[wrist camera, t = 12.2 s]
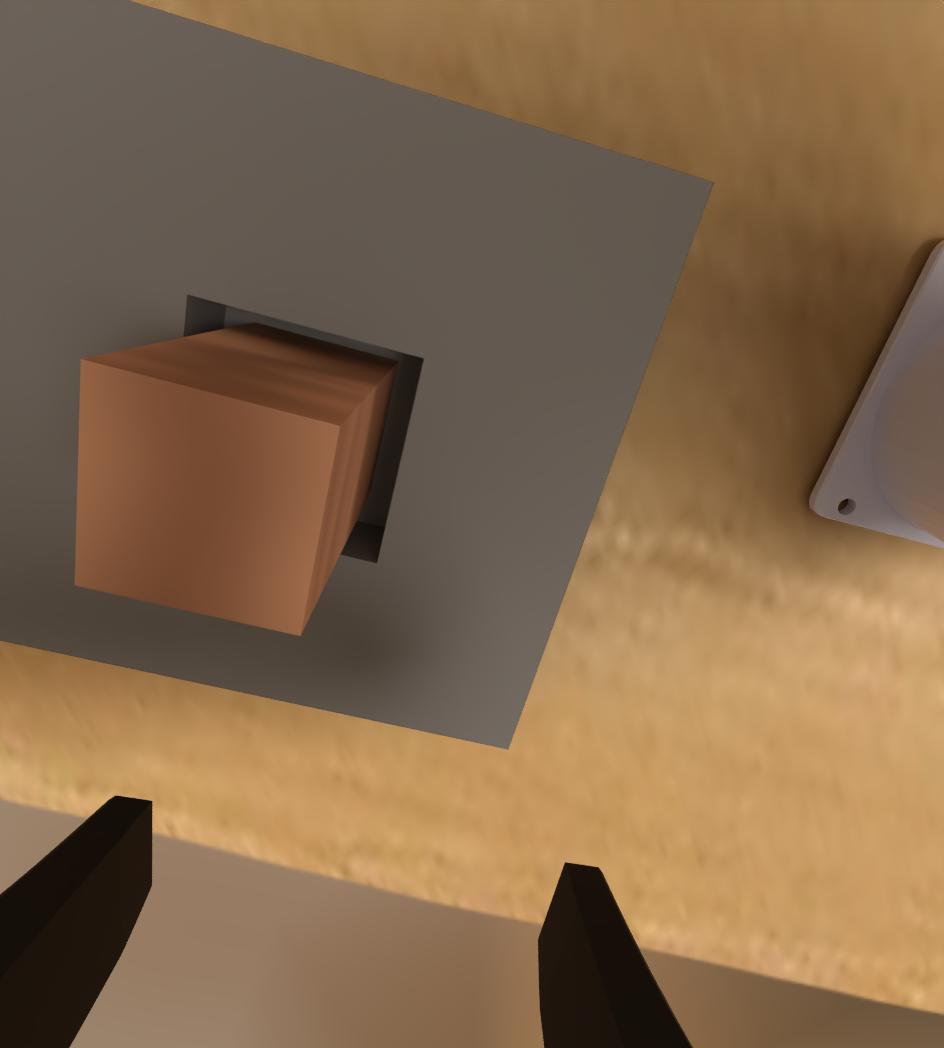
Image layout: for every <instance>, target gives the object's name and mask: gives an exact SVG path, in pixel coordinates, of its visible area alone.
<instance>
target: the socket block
mask: <svg viewBox="0 0 944 1048" xmlns="http://www.w3.org/2000/svg"><path fill="white" fill-rule="evenodd" d="M713 184H714V182H712V181H708V180H705V179H702V178H699V177H695V176H692V175H689V174H686V173H683V172H679V171H676V170H673V169H670V168H666V167H663V166H660V165H657V164H654V163H650V162H647V161H644V160H641V159H637V158H634V157H631V156H628V155H625V154H621V153H618V152H615V151H612V150H609V149H605V148H602V147H599V146H596V145H592V144H589V143H586V142H583V141H580V140H576V139H573V138H570V137H567V136H563V135H560V134H557V133H554V132H551V131H547V130H544V129H541V128H538V127H535V126H531V125H528V124H525V123H522V122H518V121H515V120H512V119H509V118H506V117H502V116H499V115H496V114H493V113H489V112H486V111H483V110H480V109H477V108H473V107H470V106H467V105H464V104H461V103H457V102H454V101H451V100H448V99H444V98H441V97H438V96H435V95H432V94H428V93H425V92H422V91H419V90H415V89H412V88H409V87H406V86H403V85H399V84H396V83H393V82H390V81H387V80H383V79H380V78H377V77H374V76H370V75H367V74H364V73H361V72H358V71H354V70H351V69H348V68H345V67H341V66H338V65H335V64H332V63H329V62H325V61H322V60H319V59H316V58H313V57H309V56H306V55H303V54H300V53H296V52H293V51H290V50H287V49H284V48H280V47H277V46H274V45H271V44H267V43H264V42H261V41H258V40H255V39H251V38H248V37H245V36H242V35H238V34H235V33H232V32H229V31H226V30H222V29H219V28H216V27H213V26H210V25H206V24H203V23H200V22H197V21H193V20H190V19H187V18H184V17H181V16H177V15H174V14H171V13H168V12H164V11H161V10H158V9H155V8H152V7H148V6H145V5H142V4H139V3H136V2H132V1H129V0H0V641H5V642H10V643H14V644H19V645H24V646H28V647H33V648H38V649H42V650H47V651H52V652H56V653H61V654H66V655H70V656H75V657H80V658H84V659H89V660H94V661H98V662H103V663H108V664H112V665H117V666H122V667H126V668H131V669H136V670H140V671H145V672H150V673H154V674H159V675H164V676H168V677H173V678H178V679H182V680H187V681H192V682H196V683H201V684H205V685H210V686H215V687H219V688H224V689H229V690H233V691H238V692H243V693H247V694H252V695H257V696H261V697H266V698H271V699H275V700H280V701H285V702H289V703H294V704H299V705H303V706H308V707H313V708H317V709H322V710H327V711H331V712H336V713H341V714H345V715H350V716H355V717H359V718H364V719H369V720H373V721H378V722H383V723H387V724H392V725H397V726H401V727H406V728H410V729H415V730H420V731H424V732H429V733H434V734H438V735H443V736H448V737H452V738H457V739H462V740H466V741H471V742H476V743H480V744H485V745H490V746H494V747H499V748H504V749H509V746H510V743H511V740H512V738H513V735H514V732H515V729H516V727H517V724H518V721H519V718H520V716H521V713H522V710H523V707H524V705H525V702H526V699H527V696H528V694H529V691H530V688H531V685H532V683H533V680H534V677H535V674H536V672H537V669H538V666H539V663H540V661H541V658H542V655H543V652H544V650H545V647H546V644H547V641H548V638H549V636H550V633H551V630H552V627H553V625H554V622H555V619H556V616H557V614H558V611H559V608H560V605H561V603H562V600H563V597H564V594H565V592H566V589H567V586H568V583H569V581H570V578H571V575H572V572H573V570H574V567H575V564H576V561H577V559H578V556H579V553H580V550H581V548H582V545H583V542H584V539H585V537H586V534H587V531H588V528H589V525H590V523H591V520H592V517H593V514H594V512H595V509H596V506H597V503H598V501H599V498H600V495H601V492H602V490H603V487H604V484H605V481H606V479H607V476H608V473H609V470H610V468H611V465H612V462H613V459H614V457H615V454H616V451H617V448H618V446H619V443H620V440H621V437H622V435H623V432H624V429H625V426H626V424H627V421H628V418H629V415H630V412H631V410H632V407H633V404H634V401H635V399H636V396H637V393H638V390H639V388H640V385H641V382H642V379H643V377H644V374H645V371H646V368H647V366H648V363H649V360H650V357H651V355H652V352H653V349H654V346H655V344H656V341H657V338H658V335H659V333H660V330H661V327H662V324H663V322H664V319H665V316H666V313H667V310H668V308H669V305H670V302H671V299H672V297H673V294H674V291H675V288H676V286H677V283H678V280H679V277H680V275H681V272H682V269H683V266H684V264H685V261H686V258H687V255H688V253H689V250H690V247H691V244H692V242H693V239H694V236H695V233H696V231H697V228H698V225H699V222H700V220H701V217H702V214H703V211H704V209H705V206H706V203H707V200H708V197H709V195H710V192H711V189H712V186H713ZM253 322H257V323H260V324H264V325H268V326H271V327H275V328H279V329H282V330H286V331H290V332H294V333H297V334H301V335H305V336H308V337H312V338H316V339H319V340H323V341H327V342H331V343H334V344H338V345H342V346H345V347H349V348H353V349H356V350H360V351H364V352H368V353H371V354H375V355H379V356H382V357H386V358H390V359H393V360H397V361H399V362H398V367H397V371H396V376H395V381H394V385H393V390H392V395H391V399H390V404H389V408H388V413H387V418H386V422H385V427H384V432H383V436H382V441H381V446H380V450H379V455H378V459H377V464H376V469H375V473H374V478H373V483H372V487H371V492H370V494H369V496H368V498H367V500H366V502H365V505H364V507H363V509H362V511H361V513H360V515H359V517H358V519H357V521H356V523H355V525H354V527H353V529H352V531H351V533H350V535H349V537H348V539H347V542H346V544H345V546H344V548H343V550H342V552H341V554H340V556H339V558H338V560H337V562H336V564H335V566H334V568H333V570H332V572H331V574H330V577H329V579H328V581H327V583H326V585H325V587H324V589H323V591H322V593H321V595H320V597H319V599H318V601H317V603H316V605H315V607H314V609H313V611H312V614H311V616H310V618H309V620H308V622H307V624H306V626H305V628H304V630H303V632H302V634H301V636H298V635H293V634H289V633H285V632H280V631H276V630H271V629H267V628H262V627H258V626H254V625H249V624H245V623H240V622H236V621H231V620H227V619H223V618H218V617H214V616H209V615H205V614H200V613H196V612H192V611H187V610H183V609H178V608H174V607H169V606H165V605H161V604H156V603H152V602H147V601H143V600H138V599H134V598H130V597H125V596H121V595H116V594H112V593H107V592H103V591H99V590H94V589H90V588H85V587H81V586H76V585H75V555H76V518H77V482H78V445H79V408H80V372H81V359H83V358H88V357H93V356H97V355H102V354H107V353H112V352H116V351H121V350H126V349H130V348H135V347H140V346H145V345H149V344H154V343H159V342H164V341H168V340H173V339H178V338H183V337H187V336H192V335H197V334H201V333H206V332H211V331H216V330H220V329H225V328H230V327H235V326H239V325H244V324H249V323H253Z"/></svg>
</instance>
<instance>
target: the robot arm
mask: <svg viewBox="0 0 944 1048" xmlns="http://www.w3.org/2000/svg"><path fill="white" fill-rule="evenodd" d="M845 499H848V500H849V501H848V505H847V506H846V507H845V508H844V509H842V510H838V505H839V504H840V502H841V501H843V500H845ZM809 505H810V508H811V509H812V510H813V511H814V512H815V513H817V514H818V515H820V516H822V517H824V518H828V519H832V520H836V521H840V522H844V523H847V524H851V525H855V526H859V527H863V528H866V529H870V530H874V531H878V532H882V533H885V534H889V535H893V536H897V537H901V538H904V539H908V540H912V541H916V542H920V543H923V544H927V545H931V546H935V547H939V548H943V549H944V240H943V241H941V242H940V243H939V244H938V245H936V247H935V248H934V249H933V251H932V252H931V254H930V256H929V258H928V260H927V262H926V264H925V266H924V268H923V270H922V272H921V274H920V276H919V278H918V280H917V282H916V284H915V286H914V288H913V290H912V292H911V294H910V296H909V298H908V300H907V302H906V304H905V306H904V308H903V310H902V312H901V314H900V316H899V318H898V320H897V322H896V324H895V326H894V328H893V330H892V332H891V334H890V336H889V338H888V340H887V342H886V344H885V346H884V348H883V350H882V352H881V354H880V356H879V358H878V360H877V363H876V365H875V367H874V369H873V371H872V373H871V375H870V377H869V379H868V381H867V383H866V385H865V387H864V389H863V391H862V393H861V395H860V397H859V399H858V401H857V403H856V405H855V407H854V409H853V411H852V413H851V415H850V417H849V419H848V421H847V423H846V425H845V427H844V429H843V431H842V433H841V435H840V437H839V439H838V441H837V443H836V445H835V447H834V449H833V451H832V453H831V455H830V457H829V459H828V461H827V463H826V465H825V467H824V469H823V471H822V473H821V475H820V477H819V479H818V481H817V483H816V485H815V487H814V489H813V491H812V493H811V495H810V499H809ZM151 886H152V801H149V800H143V799H136V798H129V797H122V796H114V797H113V798H111V799H109V800H108V801H107V802H106V803H105V804H104V805H103V806H101V807H100V808H99V809H98V810H97V811H96V812H95V813H94V814H93V815H92V816H90V817H89V818H88V819H87V820H86V821H85V822H84V823H83V824H82V825H80V826H79V827H78V828H77V829H76V830H75V831H74V832H73V833H71V834H70V835H69V836H68V837H67V838H66V839H65V840H64V841H62V842H61V843H60V844H59V845H58V846H57V847H56V848H54V849H53V850H52V851H51V852H50V853H49V854H48V855H46V856H45V857H44V858H43V859H42V860H41V861H40V862H39V863H37V864H36V865H35V866H34V867H33V868H31V869H30V870H29V871H28V872H27V873H26V874H24V875H23V876H22V877H21V878H20V879H18V880H17V881H16V882H15V883H14V884H12V885H11V886H10V887H9V888H8V889H6V890H5V891H4V892H3V893H2V894H0V1048H69V1047H70V1046H71V1044H72V1042H73V1040H74V1038H75V1037H76V1035H77V1033H78V1031H79V1030H80V1028H81V1026H82V1024H83V1023H84V1021H85V1019H86V1017H87V1015H88V1013H89V1012H90V1010H91V1008H92V1007H93V1005H94V1003H95V1001H96V999H97V998H98V996H99V994H100V992H101V990H102V988H103V987H104V985H105V983H106V981H107V979H108V978H109V976H110V974H111V972H112V971H113V969H114V967H115V965H116V963H117V961H118V960H119V958H120V956H121V954H122V952H123V950H124V948H125V946H126V943H127V941H128V939H129V937H130V935H131V932H132V930H133V928H134V926H135V923H136V921H137V919H138V916H139V914H140V912H141V910H142V907H143V905H144V903H145V900H146V898H147V896H148V893H149V891H150V889H151ZM538 959H539V994H540V995H539V996H540V1013H541V1022H542V1031H543V1039H544V1048H693V1047H692V1046H691V1044H690V1042H689V1040H688V1038H687V1037H686V1035H685V1033H684V1031H683V1030H682V1028H681V1026H680V1024H679V1023H678V1021H677V1019H676V1017H675V1016H674V1014H673V1012H672V1010H671V1008H670V1006H669V1004H668V1003H667V1001H666V999H665V997H664V995H663V993H662V991H661V990H660V988H659V986H658V984H657V982H656V980H655V979H654V977H653V975H652V973H651V971H650V969H649V967H648V965H647V963H646V962H645V959H644V958H643V956H642V954H641V952H640V950H639V948H638V946H637V944H636V942H635V940H634V938H633V936H632V934H631V932H630V930H629V928H628V926H627V924H626V922H625V919H624V917H623V915H622V913H621V911H620V909H619V907H618V905H617V903H616V901H615V899H614V897H613V894H612V892H611V890H610V888H609V886H608V884H607V882H606V879H605V877H604V875H603V873H602V872H601V870H600V869H599V867H593V866H586V865H579V864H573V863H566V862H565V864H564V867H563V870H562V873H561V876H560V878H559V881H558V884H557V887H556V890H555V893H554V895H553V898H552V901H551V904H550V907H549V910H548V913H547V915H546V918H545V921H544V924H543V927H542V930H541V933H540V936H539V939H538Z"/></svg>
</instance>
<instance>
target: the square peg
mask: <svg viewBox="0 0 944 1048" xmlns="http://www.w3.org/2000/svg"><path fill="white" fill-rule="evenodd" d="M398 362H399V361H397V360H393V359H390V358H386V357H382V356H379V355H375V354H371V353H368V352H364V351H360V350H356V349H353V348H349V347H345V346H342V345H338V344H334V343H331V342H327V341H323V340H319V339H316V338H312V337H308V336H305V335H301V334H297V333H294V332H290V331H286V330H282V329H279V328H275V327H271V326H268V325H264V324H260V323H257V322H253V323H249V324H244V325H239V326H235V327H230V328H225V329H220V330H216V331H211V332H206V333H201V334H197V335H192V336H187V337H183V338H178V339H173V340H168V341H164V342H159V343H154V344H149V345H145V346H140V347H135V348H130V349H126V350H121V351H116V352H112V353H107V354H102V355H97V356H93V357H88V358H83V359H81V372H80V408H79V445H78V482H77V518H76V555H75V585H76V586H81V587H85V588H90V589H94V590H99V591H103V592H107V593H112V594H116V595H121V596H125V597H130V598H134V599H138V600H143V601H147V602H152V603H156V604H161V605H165V606H169V607H174V608H178V609H183V610H187V611H192V612H196V613H200V614H205V615H209V616H214V617H218V618H223V619H227V620H231V621H236V622H240V623H245V624H249V625H254V626H258V627H262V628H267V629H271V630H276V631H280V632H285V633H289V634H293V635H298V636H301V634H302V632H303V630H304V628H305V626H306V624H307V622H308V620H309V618H310V616H311V614H312V611H313V609H314V607H315V605H316V603H317V601H318V599H319V597H320V595H321V593H322V591H323V589H324V587H325V585H326V583H327V581H328V579H329V577H330V574H331V572H332V570H333V568H334V566H335V564H336V562H337V560H338V558H339V556H340V554H341V552H342V550H343V548H344V546H345V544H346V542H347V539H348V537H349V535H350V533H351V531H352V529H353V527H354V525H355V523H356V521H357V519H358V517H359V515H360V513H361V511H362V509H363V507H364V505H365V502H366V500H367V498H368V496H369V494H370V492H371V487H372V483H373V478H374V473H375V469H376V464H377V459H378V455H379V450H380V446H381V441H382V436H383V432H384V427H385V422H386V418H387V413H388V408H389V404H390V399H391V395H392V390H393V385H394V381H395V376H396V371H397V367H398Z"/></svg>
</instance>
